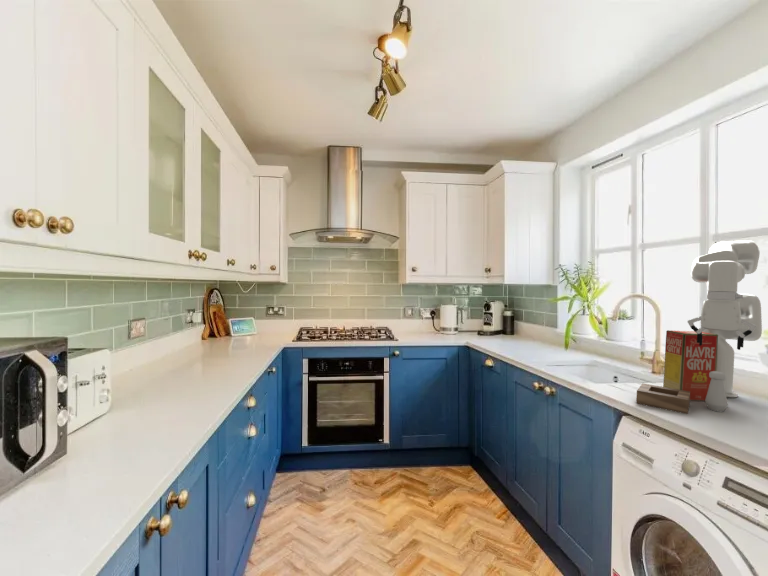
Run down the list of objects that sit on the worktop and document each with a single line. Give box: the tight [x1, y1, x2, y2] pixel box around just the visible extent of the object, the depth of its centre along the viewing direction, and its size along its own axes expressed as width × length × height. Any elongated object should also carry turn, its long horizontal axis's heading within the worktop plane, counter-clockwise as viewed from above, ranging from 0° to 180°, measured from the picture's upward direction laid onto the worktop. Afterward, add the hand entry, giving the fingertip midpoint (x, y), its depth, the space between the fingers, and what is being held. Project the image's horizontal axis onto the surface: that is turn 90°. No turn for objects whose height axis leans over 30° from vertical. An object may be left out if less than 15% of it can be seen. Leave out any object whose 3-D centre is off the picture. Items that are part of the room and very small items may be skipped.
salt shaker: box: [704, 371, 729, 413], centre depth 126 cm, size 6×6×13 cm
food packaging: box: [662, 330, 718, 402], centre depth 140 cm, size 13×9×25 cm
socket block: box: [635, 383, 691, 415], centre depth 131 cm, size 14×14×5 cm
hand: (719, 347), depth 126 cm, fingers open, 9 cm apart
